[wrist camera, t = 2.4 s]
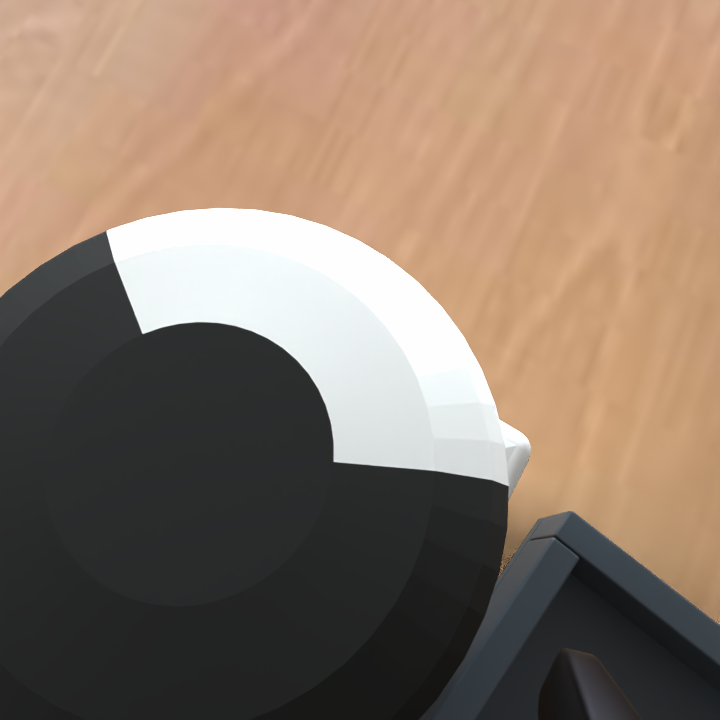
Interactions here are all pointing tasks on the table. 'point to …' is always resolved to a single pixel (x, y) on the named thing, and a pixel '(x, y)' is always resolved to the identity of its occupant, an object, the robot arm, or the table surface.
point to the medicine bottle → (240, 479)
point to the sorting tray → (585, 632)
